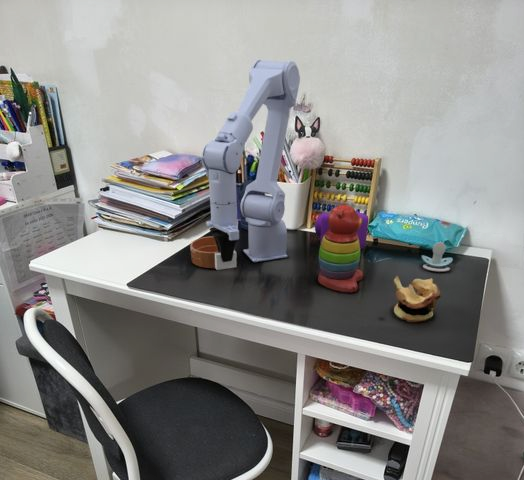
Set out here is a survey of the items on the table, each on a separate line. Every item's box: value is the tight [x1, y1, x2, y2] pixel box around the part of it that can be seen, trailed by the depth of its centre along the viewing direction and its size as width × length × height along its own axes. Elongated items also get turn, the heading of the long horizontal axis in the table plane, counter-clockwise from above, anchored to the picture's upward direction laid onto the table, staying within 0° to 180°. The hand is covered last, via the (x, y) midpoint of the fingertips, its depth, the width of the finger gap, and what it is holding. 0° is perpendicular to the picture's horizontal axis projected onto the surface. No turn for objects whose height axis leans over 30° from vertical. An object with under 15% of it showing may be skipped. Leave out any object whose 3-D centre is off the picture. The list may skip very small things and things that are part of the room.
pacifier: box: [421, 241, 454, 273], centre depth 121 cm, size 7×6×6 cm
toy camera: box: [314, 211, 369, 250], centre depth 131 cm, size 11×14×10 cm
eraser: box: [214, 250, 238, 271], centre depth 115 cm, size 1×5×4 cm, turn 111°
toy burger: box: [393, 275, 442, 323], centre depth 101 cm, size 12×10×8 cm
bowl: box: [189, 235, 236, 269], centre depth 125 cm, size 11×11×4 cm
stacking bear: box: [317, 202, 364, 294], centre depth 112 cm, size 11×10×18 cm
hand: (225, 259), depth 115 cm, fingers closed on eraser, 1 cm apart
